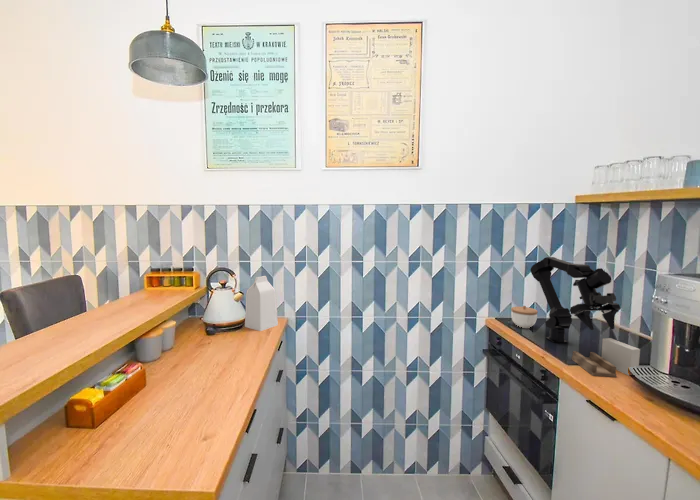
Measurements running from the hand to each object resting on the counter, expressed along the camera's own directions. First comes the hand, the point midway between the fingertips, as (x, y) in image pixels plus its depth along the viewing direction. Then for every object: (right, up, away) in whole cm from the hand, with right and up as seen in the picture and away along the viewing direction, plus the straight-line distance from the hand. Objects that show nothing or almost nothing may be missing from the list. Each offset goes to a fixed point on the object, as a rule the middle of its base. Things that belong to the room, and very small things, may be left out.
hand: (602, 329), depth 138 cm
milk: (-147, -8, +42) cm, 153 cm away
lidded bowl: (-8, -9, +47) cm, 49 cm away
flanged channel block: (-8, -14, -5) cm, 16 cm away
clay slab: (+2, -14, -6) cm, 15 cm away
